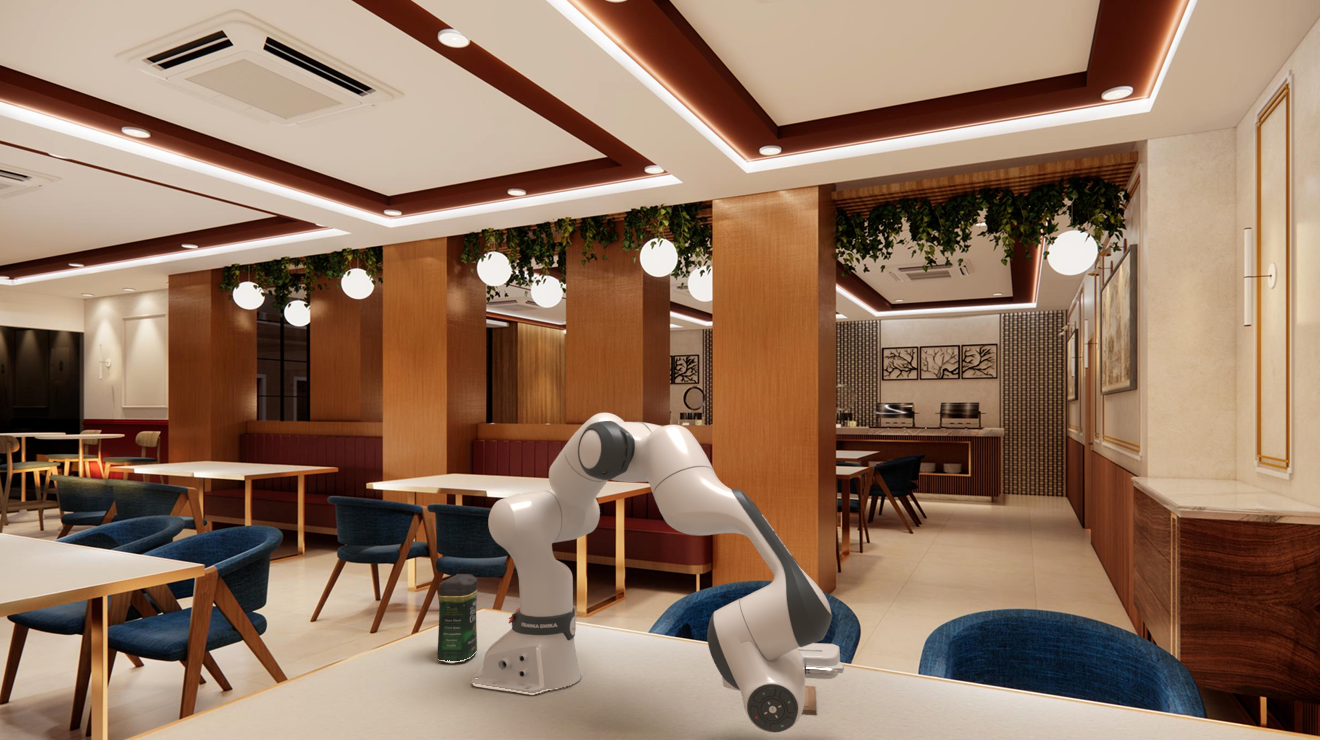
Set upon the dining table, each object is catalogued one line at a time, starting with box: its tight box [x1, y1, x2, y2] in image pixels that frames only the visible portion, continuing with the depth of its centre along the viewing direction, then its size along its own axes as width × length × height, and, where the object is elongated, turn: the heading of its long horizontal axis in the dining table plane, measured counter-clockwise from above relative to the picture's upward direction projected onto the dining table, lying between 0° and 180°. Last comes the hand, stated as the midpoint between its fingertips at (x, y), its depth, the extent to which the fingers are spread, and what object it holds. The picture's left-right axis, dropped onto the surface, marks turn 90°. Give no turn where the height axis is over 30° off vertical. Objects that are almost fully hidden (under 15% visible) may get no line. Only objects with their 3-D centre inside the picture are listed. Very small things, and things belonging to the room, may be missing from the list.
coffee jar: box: [436, 573, 478, 661], centre depth 168 cm, size 10×8×19 cm
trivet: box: [801, 685, 818, 716], centre depth 139 cm, size 12×12×1 cm
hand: (779, 643), depth 129 cm, fingers open, 8 cm apart
